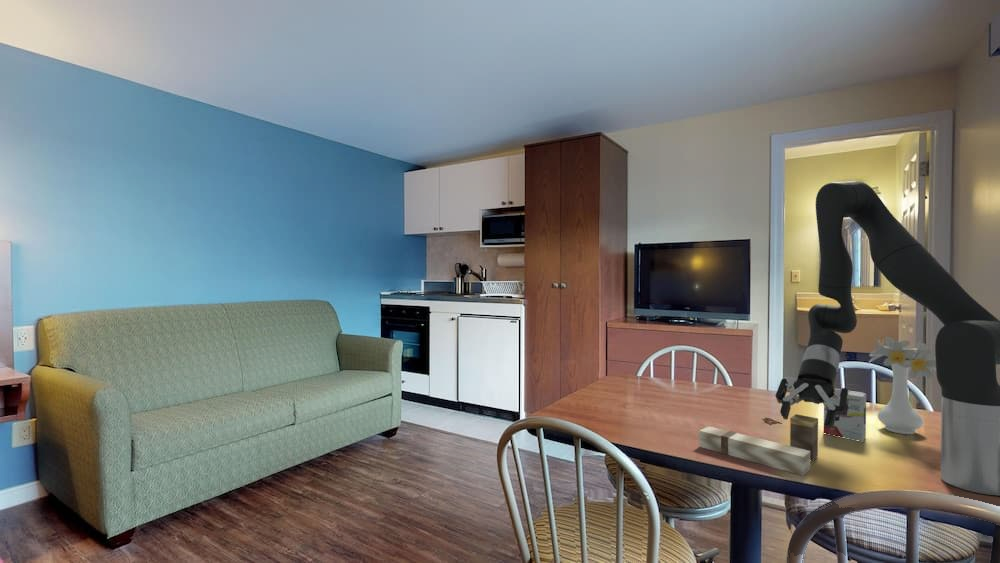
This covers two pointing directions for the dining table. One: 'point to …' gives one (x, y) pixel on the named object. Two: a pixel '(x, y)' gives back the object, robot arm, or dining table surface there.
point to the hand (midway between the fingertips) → (805, 422)
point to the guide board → (756, 450)
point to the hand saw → (770, 422)
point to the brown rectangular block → (804, 434)
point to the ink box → (849, 417)
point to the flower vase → (903, 382)
